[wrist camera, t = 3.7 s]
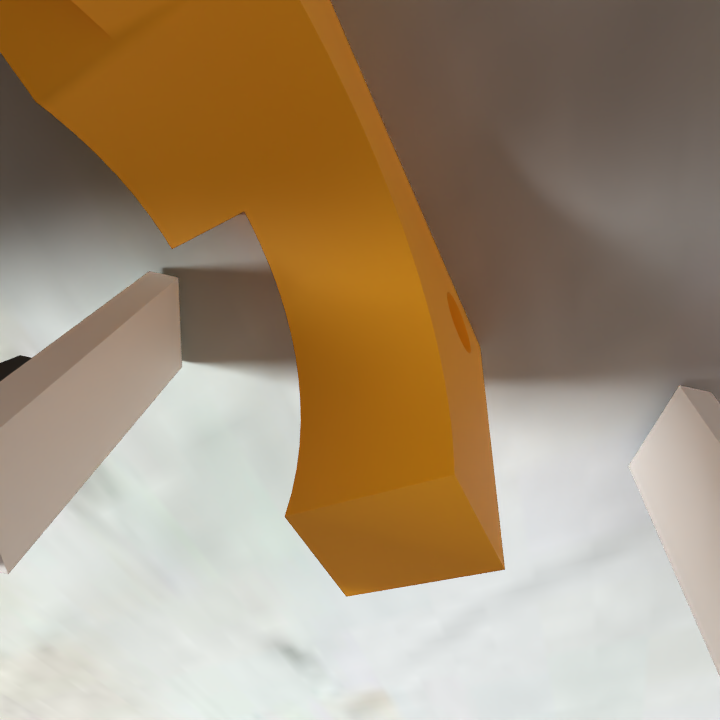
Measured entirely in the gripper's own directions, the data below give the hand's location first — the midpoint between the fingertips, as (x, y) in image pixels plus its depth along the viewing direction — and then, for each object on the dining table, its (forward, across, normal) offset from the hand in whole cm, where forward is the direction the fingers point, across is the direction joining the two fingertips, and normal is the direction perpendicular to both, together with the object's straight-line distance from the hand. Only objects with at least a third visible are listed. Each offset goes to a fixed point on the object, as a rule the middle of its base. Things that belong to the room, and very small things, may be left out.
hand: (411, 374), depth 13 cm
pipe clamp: (+1, -4, +5) cm, 6 cm away
